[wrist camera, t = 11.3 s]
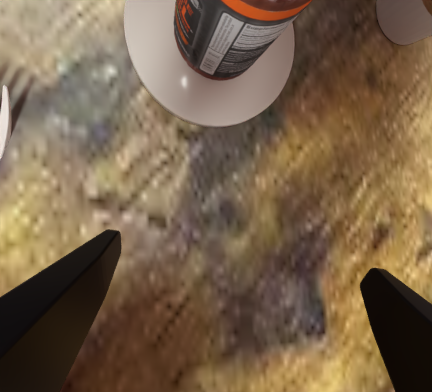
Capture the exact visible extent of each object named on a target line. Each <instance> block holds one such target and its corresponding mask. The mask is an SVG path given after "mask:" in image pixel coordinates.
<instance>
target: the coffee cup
mask: <svg viewBox="0 0 432 392" xmlns="http://www.w3.org/2000/svg"><path fill="white" fill-rule="evenodd" d="M376 13H377V19H378V22H379V25H380V27H381V29H382V31H383V33H384V34H385V36H386V37H387V38H388V39H390V40H391V41H392V42H394V43H396V44H399V45H408V44H412V43H414V42H417V41H419V40H421V39H424V38H426V37H428V36H431V35H432V0H377V2H376Z"/></svg>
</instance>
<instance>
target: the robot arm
mask: <svg viewBox="0 0 432 392" xmlns="http://www.w3.org/2000/svg"><path fill="white" fill-rule="evenodd" d="M120 254H121V234H120V232H119V231H117V230H110V229H108V230H105V231H104V232H102V233H101V234H99V235H97V236H96V237H94V238H93V239H91V240H90V241H88V242H86V243H85V244H83V245H82V246H80V247H79V248H77V249H75V250H74V251H72V252H71V253H69V254H67V255H66V256H64V257H63V258H61V259H60V260H58V261H56V262H55V263H53V264H52V265H50V266H49V267H47V268H45V269H44V270H42V271H41V272H39V273H38V274H36V275H34V276H33V277H31V278H30V279H28V280H26V281H25V282H23V283H22V284H20V285H19V286H17V287H15V288H14V289H12V290H11V291H9V292H8V293H6V294H4V295H3V296H1V297H0V392H60V390H61V387H62V385H63V383H64V381H65V379H66V377H67V375H68V373H69V371H70V369H71V367H72V365H73V363H74V361H75V359H76V357H77V355H78V352H79V350H80V348H81V346H82V344H83V342H84V340H85V338H86V336H87V334H88V332H89V330H90V328H91V326H92V324H93V322H94V320H95V317H96V315H97V313H98V311H99V309H100V307H101V305H102V303H103V301H104V299H105V296H106V294H107V291H108V288H109V285H110V283H111V280H112V277H113V274H114V271H115V269H116V266H117V263H118V260H119V257H120ZM360 290H361V293H362V297H363V300H364V304H365V308H366V311H367V315H368V318H369V322H370V325H371V329H372V332H373V334H374V337H375V340H376V343H377V345H378V348H379V350H380V353H381V356H382V358H383V361H384V364H385V366H386V369H387V371H388V374H389V377H390V379H391V382H392V384H393V387H394V390H395V392H432V304H431V303H429V302H428V301H427V300H425V299H424V298H423V297H421V296H420V295H419V294H417V293H416V292H414V291H413V290H412V289H410V288H409V287H408V286H406V285H405V284H404V283H402V282H401V281H400V280H398V279H397V278H396V277H394V276H393V275H392V274H390V273H389V272H388V271H386V270H384V269H379V268H371V269H370V270H369V271H368V273H367V274H366V275H365V277H364V278H363V280H362V281H361V283H360Z"/></svg>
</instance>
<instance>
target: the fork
mask: <svg viewBox="0 0 432 392" xmlns="http://www.w3.org/2000/svg"><path fill="white" fill-rule="evenodd" d="M10 137H11V106H10V98H9V92H8V88H7V86H6V85H3V93H2V104H1V112H0V159H1V157H2V155H3V153H4V151H5V149H6V146H7V144H8V142H9V140H10Z"/></svg>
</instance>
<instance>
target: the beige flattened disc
mask: <svg viewBox="0 0 432 392" xmlns="http://www.w3.org/2000/svg"><path fill="white" fill-rule="evenodd" d="M175 2H176V0H126V2H125V9H124V29H125V38H126V42H127V47H128V51H129V55H130V59H131V62H132V64H133V67H134V70H135V72H136V74H137V76H138V78H139V80H140V81H141V83H142V84H143V86H144V87H145V89H146V90H147V92H148V93H149V94H150V95H151V96H152V98H153V99H154V100H155V101H156V102H157V103H158V104H159V105H161V106H162V107H163V108H164V109H165V110H167V111H168V112H169V113H171V114H172V115H174V116H176V117H178V118H179V119H181V120H183V121H186V122H188V123H191V124H194V125H198V126H202V127H210V128H223V127H229V126H234V125H237V124H240V123H243V122H245V121H247V120H249V119H251V118H253V117H254V116H256V115H258V114H259V113H261V112H262V111H264V110H265V109H266V108H267V107H268V106H269V105H270V104H272V103H273V101H274V100H275V99H276V98H277V97H278V95H279V94H280V92H281V91H282V89H283V87H284V86H285V84H286V81H287V79H288V77H289V74H290V71H291V68H292V63H293V58H294V46H295V42H294V29H293V23H291V24H290V25H289V26H288V27H287V28H286V29H285V30H284V32H282V33H281V35H279V37H278V38H277V39H276V40H275V41H274V42H273V43H272V44H271V45H270V46H269V47H268V49H267V50H266V51H265V52H264V53H263V54H262V55H261V56H260V57H259V58H258V59H257V60H256V61H255V63H254V64H253V65H252V66H251V67H250V68H249V69H248V70H247V71H245V72H244V73H243V74H241V75H240V76H238V77H236V78H234V79H230V80H224V81H218V80H212V79H209V78H206V77H204V76H202V75H200V74H198V73H197V72H195V71H194V70H193V69H192V68H190V67H189V66H188V65H187V63H186V61H185V60H184V59H183V57H182V55H181V53H180V52H179V49H178V47H177V43H176V40H175V36H174V14H175Z"/></svg>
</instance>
